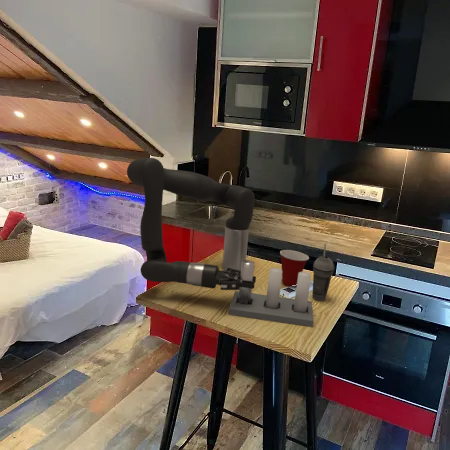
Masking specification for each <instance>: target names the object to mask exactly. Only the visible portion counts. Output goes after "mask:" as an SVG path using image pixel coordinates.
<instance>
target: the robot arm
mask: <svg viewBox="0 0 450 450" xmlns="http://www.w3.org/2000/svg"><path fill="white" fill-rule="evenodd" d="M126 175H127V177H128V179H129V181H130V182H131V183H132V184H133V185H135V186H136V187H141V188H143V193H144V207H143V212H142V215H141V218H140V227H139V231H140V242H141V243H140V244H141V248H142V250H143V251H145V255H146V261H144V262H143V263H142V264H141V267H140V274H141V276H142V277H143V278H144V279H145V280H147V281H149V282H151V283H152V282H154V283H174V282H175V283H179V284H187V285H190V286H195V287H202V288H208V289H216V288H217V285H218V286H220V288H219V289H220V291H239V288H242V287H244V288H251V289H254V288H255V284H256V282H257V281H256V280H257V277H256V276H254V275H253V281H246V280H240V276H241V267H242V261H244V260H247V253H248V252H247V251H248V242H249V233H250V232H249V231H250V225H251V222H252V220H253V216H254V215H253V214H254V209H255V202H256V201H255V200H256V199H255V194H254V192H253V190H252V189H250V188H247V187H243V186H240V185H235V184H227V183H223V182H218V181H216V180H214V179H213V178H211V177H210V176H208V175H207V176H206V175H204V174H200V173H197V172H194V171H188V170H183V169H182V170H181V169H172V168H171V169H170V168H165V167H164V166H163V164H162V162H161V161H160V160H159V159H158V158H155V157H145V158H144V157H141V158H137V159H135V160H133V161H132V162H130V163H129V164H128V166H127V169H126ZM164 191H166V192H168V193H172V194H175V195H178V196H180V197H184V198H187V199H190V200H194V201H200V202H216V203H219V204H221V205H223V206H226V207H227V208H230V209H232V210H234V211H233V217H228V218H226V221H225V228H224V241H223V243H224V244H223V255H222V264H221V265H222V266H221V267H222V269H223V270H219V268H220V267H219V265H216V264H209V263H203V262H202V263H201V262H191V261H190V262H188V261H180V260H176V261H173V262H168V261H167V255H166V251H165V248H164V239H163V238H164V237H163V223H162V216H163V215H162V213H163V198H164V197H163V195H164Z"/></svg>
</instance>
